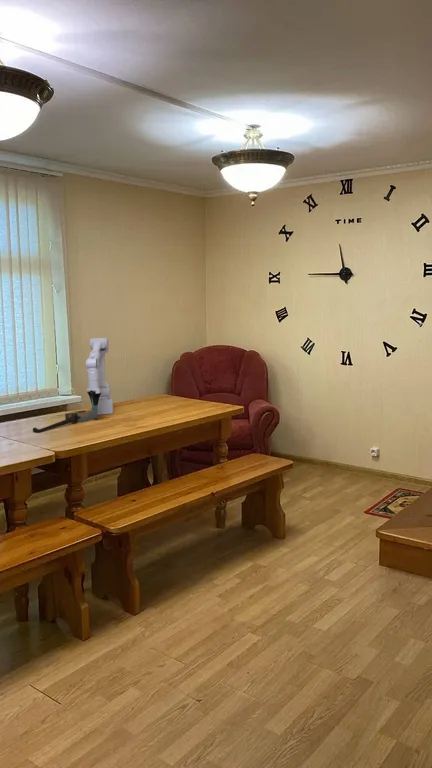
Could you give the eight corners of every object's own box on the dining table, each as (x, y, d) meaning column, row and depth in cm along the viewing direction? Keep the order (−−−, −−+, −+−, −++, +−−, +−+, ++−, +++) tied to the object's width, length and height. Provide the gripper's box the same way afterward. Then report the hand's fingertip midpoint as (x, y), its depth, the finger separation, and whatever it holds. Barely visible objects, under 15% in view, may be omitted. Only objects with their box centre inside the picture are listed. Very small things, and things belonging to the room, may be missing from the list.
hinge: (96, 417, 352) (95, 409, 351) (99, 419, 347) (98, 410, 346) (64, 421, 344) (63, 412, 343) (67, 423, 339) (66, 414, 338)
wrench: (32, 435, 320) (75, 420, 344) (38, 436, 317) (82, 421, 342) (31, 425, 319) (74, 411, 343) (37, 427, 316) (81, 412, 340)
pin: (97, 409, 344) (96, 391, 343) (99, 410, 341) (98, 392, 339) (90, 409, 342) (89, 392, 341) (92, 410, 339) (91, 393, 338)
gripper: (82, 379, 344) (83, 403, 346) (89, 382, 331) (91, 407, 333) (95, 378, 347) (96, 402, 349) (102, 381, 334) (104, 406, 336)
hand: (94, 404), depth 341 cm, fingers closed on pin, 3 cm apart
